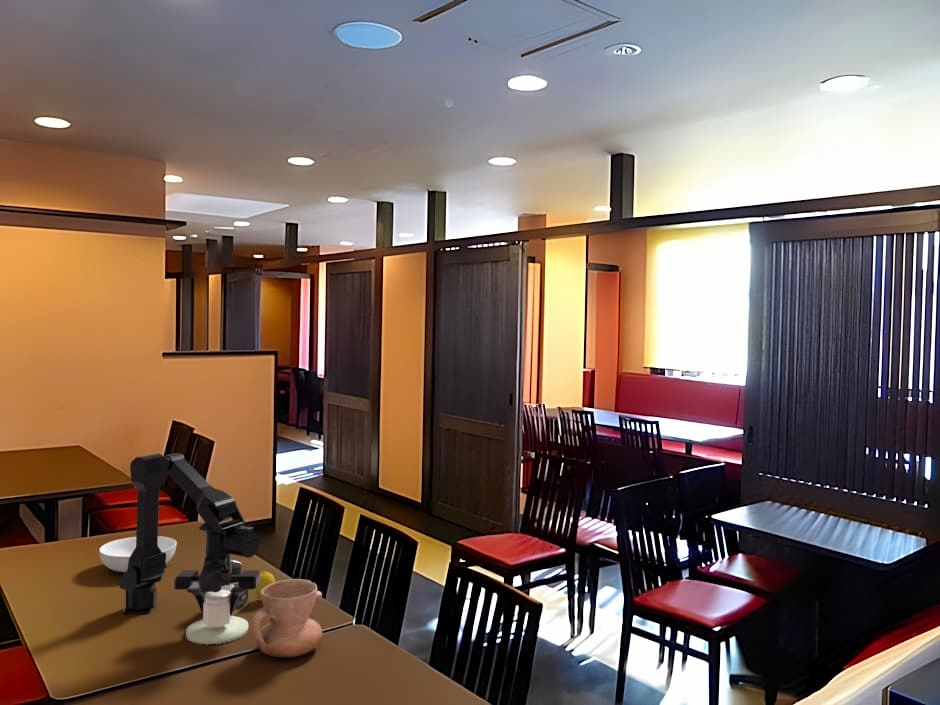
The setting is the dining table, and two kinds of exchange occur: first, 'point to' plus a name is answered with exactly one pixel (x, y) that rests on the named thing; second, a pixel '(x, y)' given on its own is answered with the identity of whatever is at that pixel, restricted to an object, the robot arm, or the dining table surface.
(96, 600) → the dining table surface
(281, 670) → the dining table surface
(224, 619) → the white lidded jar
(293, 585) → the ceramic jug
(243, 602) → the medicine bottle
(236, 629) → the post stand
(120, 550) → the serving bowl
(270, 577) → the lemon
